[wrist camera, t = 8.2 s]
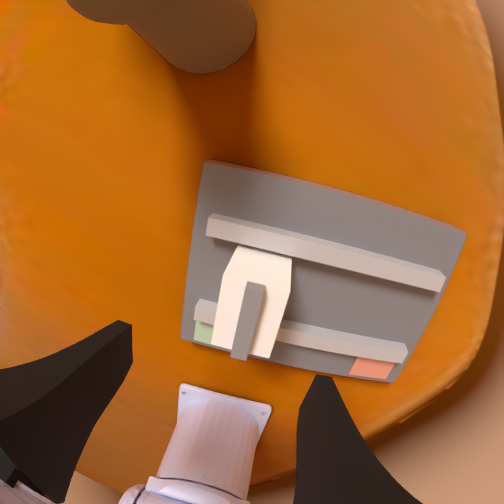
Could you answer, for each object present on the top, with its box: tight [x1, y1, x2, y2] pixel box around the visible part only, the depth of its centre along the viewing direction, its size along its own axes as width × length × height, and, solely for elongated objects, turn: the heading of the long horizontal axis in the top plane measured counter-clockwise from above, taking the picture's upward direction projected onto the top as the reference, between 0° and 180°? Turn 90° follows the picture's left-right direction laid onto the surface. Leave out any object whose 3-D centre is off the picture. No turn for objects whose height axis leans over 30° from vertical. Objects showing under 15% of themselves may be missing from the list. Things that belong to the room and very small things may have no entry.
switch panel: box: [180, 160, 467, 383], centre depth 18 cm, size 12×16×2 cm
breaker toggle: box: [211, 244, 292, 361], centre depth 16 cm, size 4×3×5 cm
